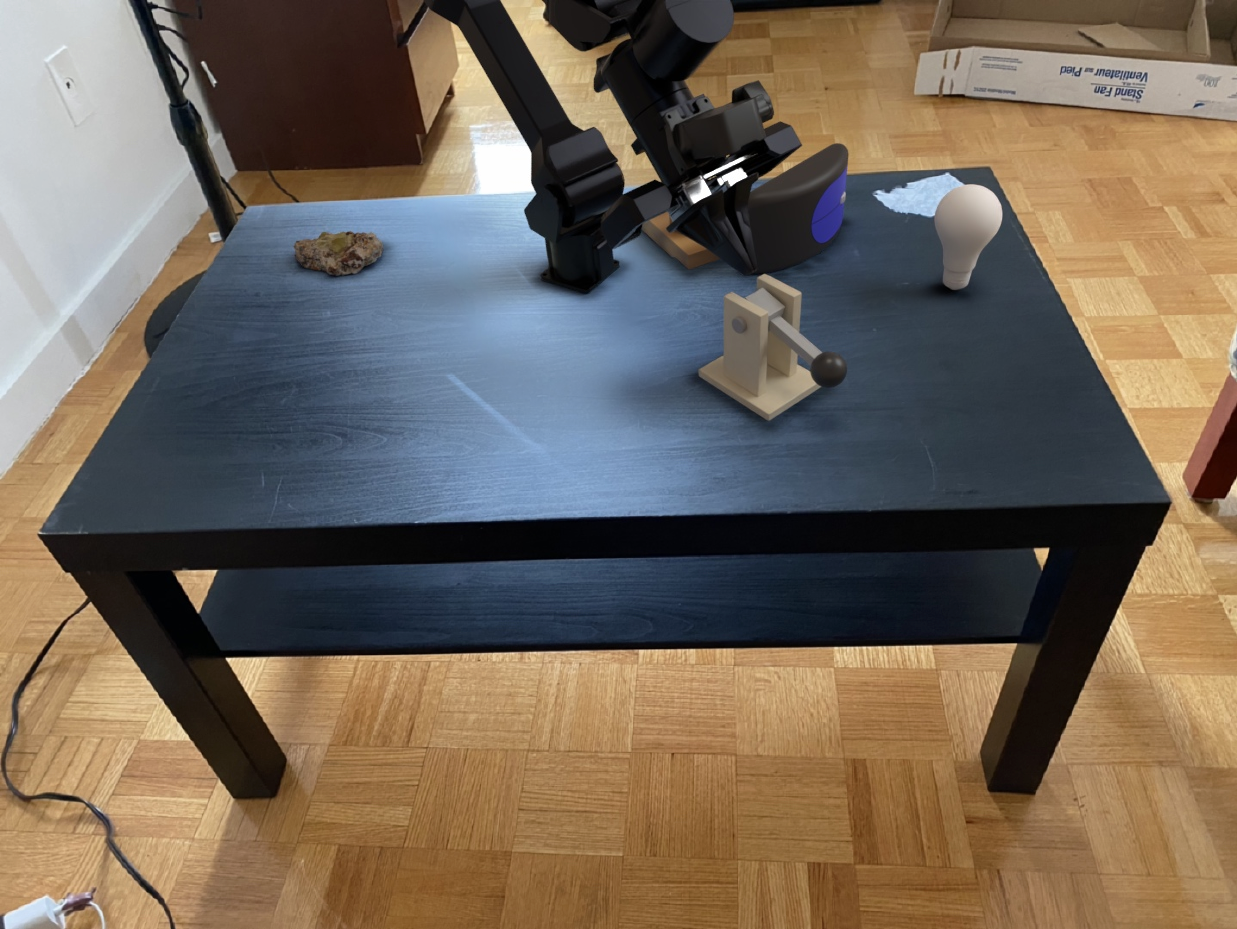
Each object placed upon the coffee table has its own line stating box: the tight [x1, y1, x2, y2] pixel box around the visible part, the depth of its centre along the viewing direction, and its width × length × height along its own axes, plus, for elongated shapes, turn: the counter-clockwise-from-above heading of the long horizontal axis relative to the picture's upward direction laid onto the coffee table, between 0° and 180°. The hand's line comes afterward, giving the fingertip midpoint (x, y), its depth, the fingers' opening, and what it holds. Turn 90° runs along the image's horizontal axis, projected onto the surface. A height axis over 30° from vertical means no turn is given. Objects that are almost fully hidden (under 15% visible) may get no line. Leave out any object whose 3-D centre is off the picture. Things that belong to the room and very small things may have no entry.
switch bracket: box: [698, 273, 822, 422], centre depth 84 cm, size 9×7×10 cm
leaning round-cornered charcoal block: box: [748, 142, 850, 275], centre depth 101 cm, size 16×5×9 cm, turn 134°
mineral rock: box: [293, 230, 385, 277], centre depth 110 cm, size 11×4×8 cm
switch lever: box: [744, 288, 848, 389], centre depth 81 cm, size 11×3×3 cm, turn 39°
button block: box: [641, 212, 721, 270], centre depth 106 cm, size 11×9×4 cm
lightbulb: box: [933, 183, 1003, 291], centre depth 93 cm, size 6×6×11 cm
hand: (751, 273), depth 81 cm, fingers closed
